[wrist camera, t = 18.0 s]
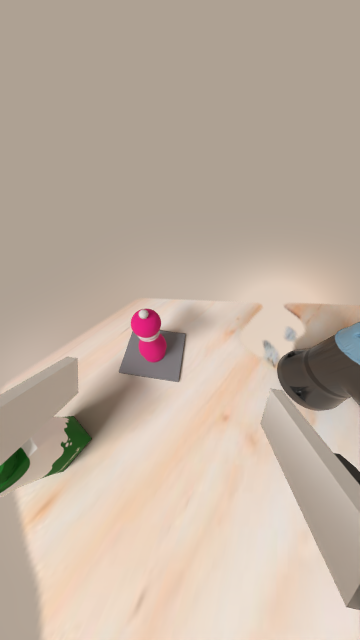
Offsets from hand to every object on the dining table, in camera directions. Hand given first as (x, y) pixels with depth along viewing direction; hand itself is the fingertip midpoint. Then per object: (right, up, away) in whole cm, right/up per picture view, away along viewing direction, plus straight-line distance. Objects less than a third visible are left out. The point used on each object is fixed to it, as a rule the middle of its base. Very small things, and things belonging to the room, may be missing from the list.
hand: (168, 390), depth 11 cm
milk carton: (-24, -22, +25) cm, 41 cm away
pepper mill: (-6, -4, +36) cm, 37 cm away
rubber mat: (-7, -5, +37) cm, 38 cm away
